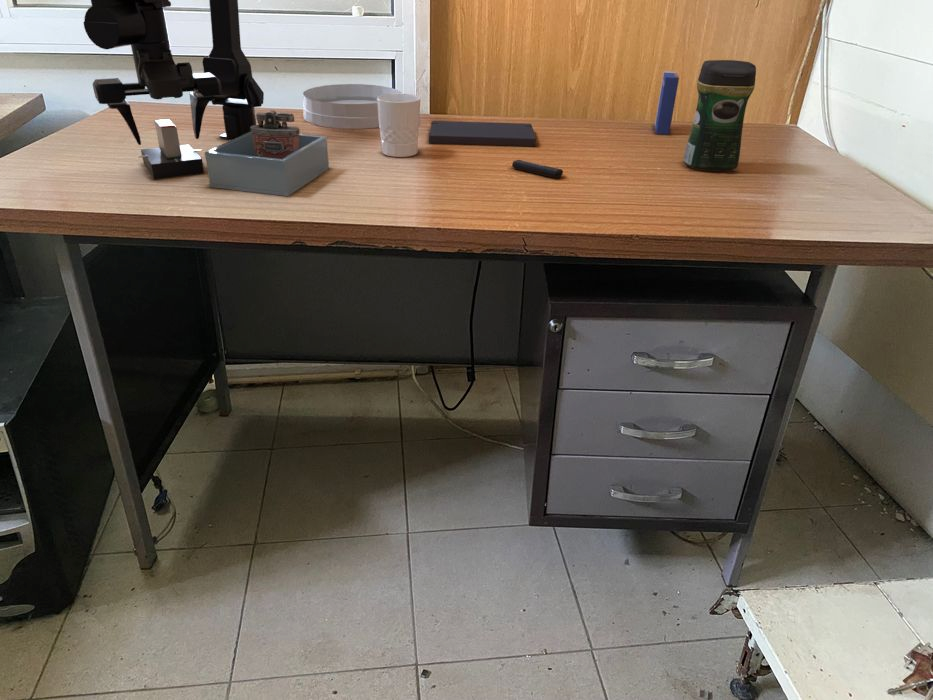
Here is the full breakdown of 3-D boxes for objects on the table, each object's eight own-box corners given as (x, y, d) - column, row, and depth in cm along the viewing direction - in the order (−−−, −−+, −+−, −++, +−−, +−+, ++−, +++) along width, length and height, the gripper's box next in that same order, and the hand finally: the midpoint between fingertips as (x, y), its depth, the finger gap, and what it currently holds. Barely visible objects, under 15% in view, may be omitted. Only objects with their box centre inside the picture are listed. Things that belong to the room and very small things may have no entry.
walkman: (669, 135, 151) (679, 76, 144) (656, 134, 151) (665, 75, 145) (667, 126, 157) (677, 70, 151) (654, 125, 158) (663, 69, 152)
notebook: (428, 143, 139) (535, 146, 139) (428, 135, 138) (536, 138, 138) (431, 127, 150) (530, 131, 150) (431, 120, 149) (531, 123, 149)
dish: (363, 102, 170) (362, 80, 167) (424, 119, 157) (424, 95, 154) (284, 114, 156) (281, 91, 154) (342, 134, 143) (341, 109, 140)
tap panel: (136, 164, 121) (133, 148, 120) (197, 157, 126) (194, 142, 125) (147, 180, 114) (143, 164, 113) (211, 172, 119) (208, 157, 117)
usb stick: (564, 176, 123) (565, 167, 122) (556, 180, 121) (557, 171, 120) (518, 166, 127) (519, 157, 126) (510, 169, 125) (511, 160, 125)
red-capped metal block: (160, 150, 120) (153, 118, 118) (174, 148, 121) (168, 117, 119) (166, 159, 116) (160, 126, 113) (181, 157, 117) (176, 125, 114)
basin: (258, 161, 125) (254, 129, 122) (328, 168, 122) (326, 136, 120) (210, 187, 112) (204, 152, 109) (287, 196, 109) (284, 160, 107)
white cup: (414, 159, 129) (413, 103, 124) (373, 156, 130) (371, 100, 125) (425, 148, 135) (425, 95, 130) (386, 145, 137) (384, 92, 131)
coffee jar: (729, 161, 134) (752, 57, 124) (740, 174, 127) (766, 65, 117) (678, 159, 134) (697, 55, 125) (687, 171, 127) (707, 62, 118)
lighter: (252, 174, 117) (244, 112, 111) (260, 168, 119) (252, 107, 114) (299, 177, 116) (293, 115, 111) (306, 171, 119) (300, 110, 114)
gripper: (90, 51, 100) (115, 160, 108) (223, 45, 108) (237, 147, 116) (81, 40, 108) (105, 143, 116) (206, 36, 116) (220, 131, 124)
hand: (168, 141), depth 118 cm, fingers open, 9 cm apart
